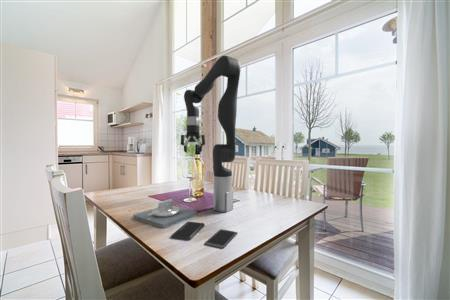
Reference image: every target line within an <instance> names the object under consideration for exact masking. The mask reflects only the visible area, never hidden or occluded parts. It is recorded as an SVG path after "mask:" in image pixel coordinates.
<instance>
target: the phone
mask: <svg viewBox="0 0 450 300" xmlns="http://www.w3.org/2000/svg"><path fill="white" fill-rule="evenodd" d="M204 227H206V226H205V223H203V222H197V221H186V223H184V224H183V225H182V226H180V227H179V228H178V229H177V230H176V231H174V232H173V233H172V234H170V235H171V236H170V238H171V239H173V240H174V239H175V240H181V241H187V242H188V241H191V240H193V238H194V237H196V235H197V234H199V232H200V231H202V229H203V228H204Z"/></svg>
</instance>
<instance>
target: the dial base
mask: <svg viewBox="0 0 450 300" xmlns="http://www.w3.org/2000/svg"><path fill="white" fill-rule="evenodd" d="M174 206H175V207H178V208H179V214H177V215H175V216H172V217H163V218H162V217H155V216H153V215H151V216H148V214H150V213H152V210H153V209H154V208H152V209H149V210H145V211H142V212H138V213H135V214H132V218H133V219H134V220H137V221H140V222H143V223H146V224H148V225H152V226H155V227H158V228H161V229H165V228H167V227H171V226H172V225H176V224H177V223H180V222H182V221H185V220H187V219H190V218H192V217H196V216H198V212H197V211H196V210H193V209H188V208H184V207H180V206H176V205H174Z"/></svg>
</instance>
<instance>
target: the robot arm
mask: <svg viewBox="0 0 450 300" xmlns="http://www.w3.org/2000/svg"><path fill="white" fill-rule="evenodd" d="M241 69H242V66H241V62H240V61H239V59H238V58H234V57H232V56H229V55H221V56H219V57H218V58H217V60H216V62H214V64H213V65H212V67H211V68H210V70H209V71H208V72H207V73H206V75H205V76H204V77H203V79H202V80H201V81H199V82H198V83H196V85H195V87H194V90H192V89H187V90H186V91H184V94H183V101H184V104H185V108H186V134H181V135H180V145H181V146H183V151H184V153H188V145H189V144H190V143H196V144H197V145H198V153H202V152H203V146H205V145H206V135H205V134H200V109H199V107H197V106H195V105H194V104H199V103H201V102H202V101H203V99H204V97H205V96H206V95H207V94H208V93H209V92H210V91H211V90H212V89H213V88H214V86H215V81H216V80H217V79H218V78H219V77H221V76H222V77H226V78H227V83H226V88H225V91H224V93H223V94H222V96H221V98H220V100H219V102H218V105H217V106H218V107H217V120H218V122H219V124H220V126H221V127H222V129H223V131H224V133H225V137H226V144H225V143H219V144H218V143H216V144H214V146H213V148H212V164H213V165H212V169H213V210H214V211H215V212H224V213H228V212H230V211H232V210H234V190H232V189H233V188H232V186H233V183H232V182H233V171H232V170H231V169H230V168H227V167H224V166H223V163H233V161H235V159H236V152H237V151H236V124H237V122H236V120H237V110H238V107H237V105H238V103H237V102H238V92H239V91H238V90H239V83H240V77H241V72H242V71H241ZM200 138H201V141H200ZM185 139H186V140H185Z"/></svg>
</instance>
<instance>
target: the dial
mask: <svg viewBox="0 0 450 300" xmlns="http://www.w3.org/2000/svg"><path fill="white" fill-rule="evenodd" d="M157 204H158V207H155V208H152V209H153V210H152V213H150V214H148V216H151V215H153V216H155V217H162V218H163V217H172V216H175V215H177V214H179V208H178V207H179V206H176V205H174V200H173V199H171V198H170V199H166V200H161V201H159V202H158V203H157ZM175 206H176V207H175Z"/></svg>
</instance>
